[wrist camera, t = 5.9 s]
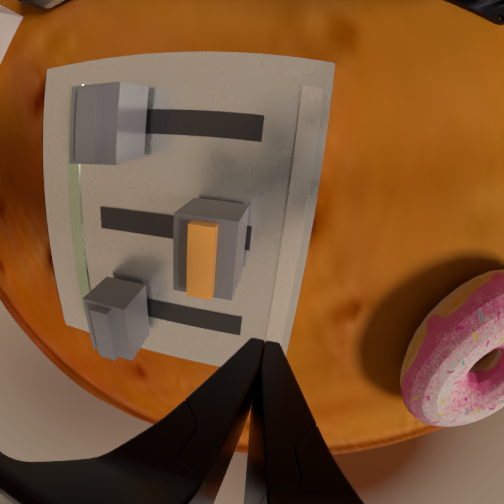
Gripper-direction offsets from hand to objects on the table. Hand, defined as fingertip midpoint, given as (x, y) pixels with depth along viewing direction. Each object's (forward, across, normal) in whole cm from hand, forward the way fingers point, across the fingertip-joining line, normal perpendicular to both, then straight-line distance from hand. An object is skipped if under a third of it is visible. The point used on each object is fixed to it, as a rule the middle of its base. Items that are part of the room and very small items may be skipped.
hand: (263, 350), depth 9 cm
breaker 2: (+9, +9, +7) cm, 14 cm away
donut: (+11, -16, +6) cm, 20 cm away
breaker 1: (+9, +10, -5) cm, 14 cm away
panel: (+11, +8, +1) cm, 13 cm away
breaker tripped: (+9, +3, 0) cm, 9 cm away
